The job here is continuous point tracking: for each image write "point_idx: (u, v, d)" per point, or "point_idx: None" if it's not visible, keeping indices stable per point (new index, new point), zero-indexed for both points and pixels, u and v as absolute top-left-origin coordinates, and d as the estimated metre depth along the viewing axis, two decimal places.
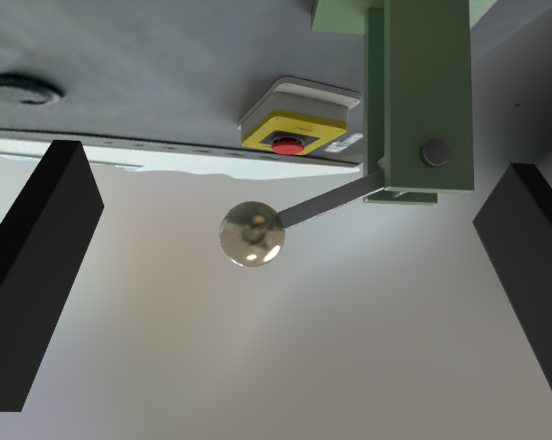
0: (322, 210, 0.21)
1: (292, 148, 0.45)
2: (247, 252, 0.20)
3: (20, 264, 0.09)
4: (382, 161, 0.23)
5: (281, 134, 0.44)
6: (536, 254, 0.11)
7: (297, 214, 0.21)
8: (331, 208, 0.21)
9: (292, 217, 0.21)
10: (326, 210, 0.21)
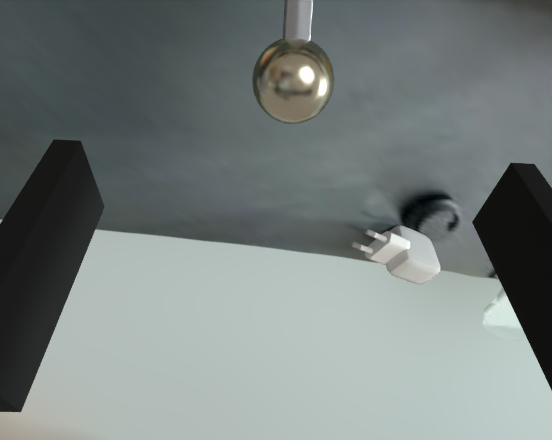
0: None
1: None
2: (260, 96, 0.17)
3: (20, 264, 0.09)
4: None
5: None
6: (536, 254, 0.11)
7: (284, 13, 0.16)
8: None
9: None
10: None
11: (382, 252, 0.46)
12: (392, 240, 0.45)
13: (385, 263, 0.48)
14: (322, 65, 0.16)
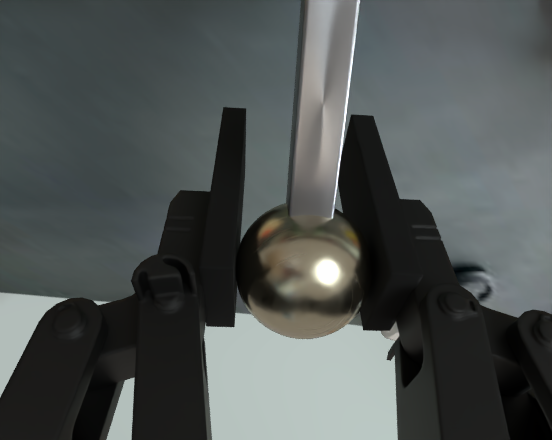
0: (297, 114, 0.09)
1: None
2: (248, 306, 0.10)
3: None
4: None
5: None
6: (357, 191, 0.12)
7: (290, 170, 0.09)
8: (297, 90, 0.08)
9: (288, 184, 0.09)
10: (297, 105, 0.08)
11: None
12: None
13: None
14: (355, 267, 0.09)
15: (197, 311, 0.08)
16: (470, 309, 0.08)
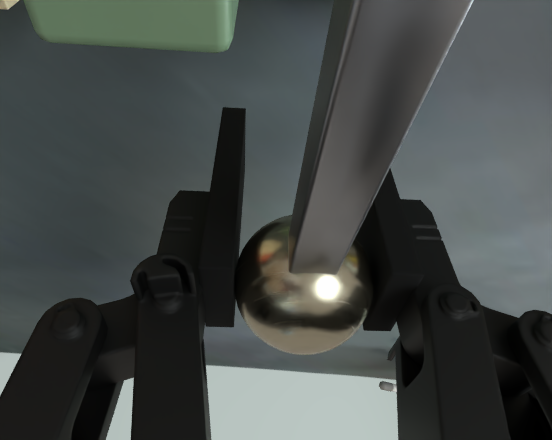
0: None
1: None
2: None
3: (238, 202, 0.10)
4: None
5: None
6: None
7: (293, 231, 0.08)
8: (305, 195, 0.06)
9: (290, 241, 0.08)
10: (304, 205, 0.06)
11: None
12: None
13: None
14: (353, 320, 0.09)
15: (196, 311, 0.08)
16: (471, 309, 0.08)
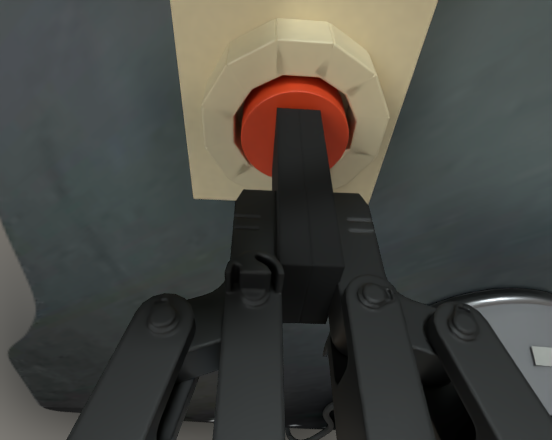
0: None
1: None
2: None
3: None
4: None
5: None
6: None
7: None
8: None
9: None
10: None
11: None
12: None
13: None
14: None
15: (280, 311, 0.08)
16: (388, 298, 0.08)
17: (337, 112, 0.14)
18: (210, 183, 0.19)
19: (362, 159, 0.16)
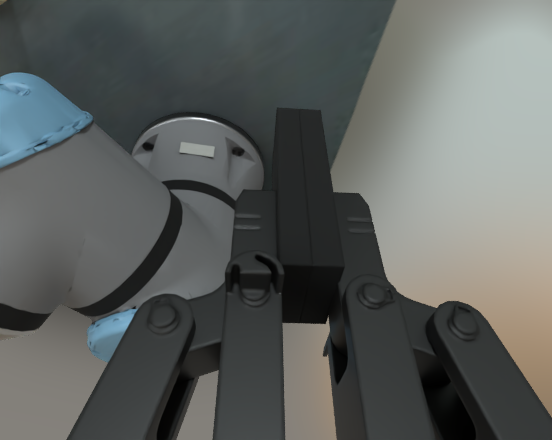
0: None
1: None
2: None
3: None
4: None
5: None
6: None
7: None
8: None
9: None
10: None
11: None
12: None
13: None
14: None
15: (280, 311, 0.08)
16: (388, 298, 0.08)
17: None
18: None
19: None
